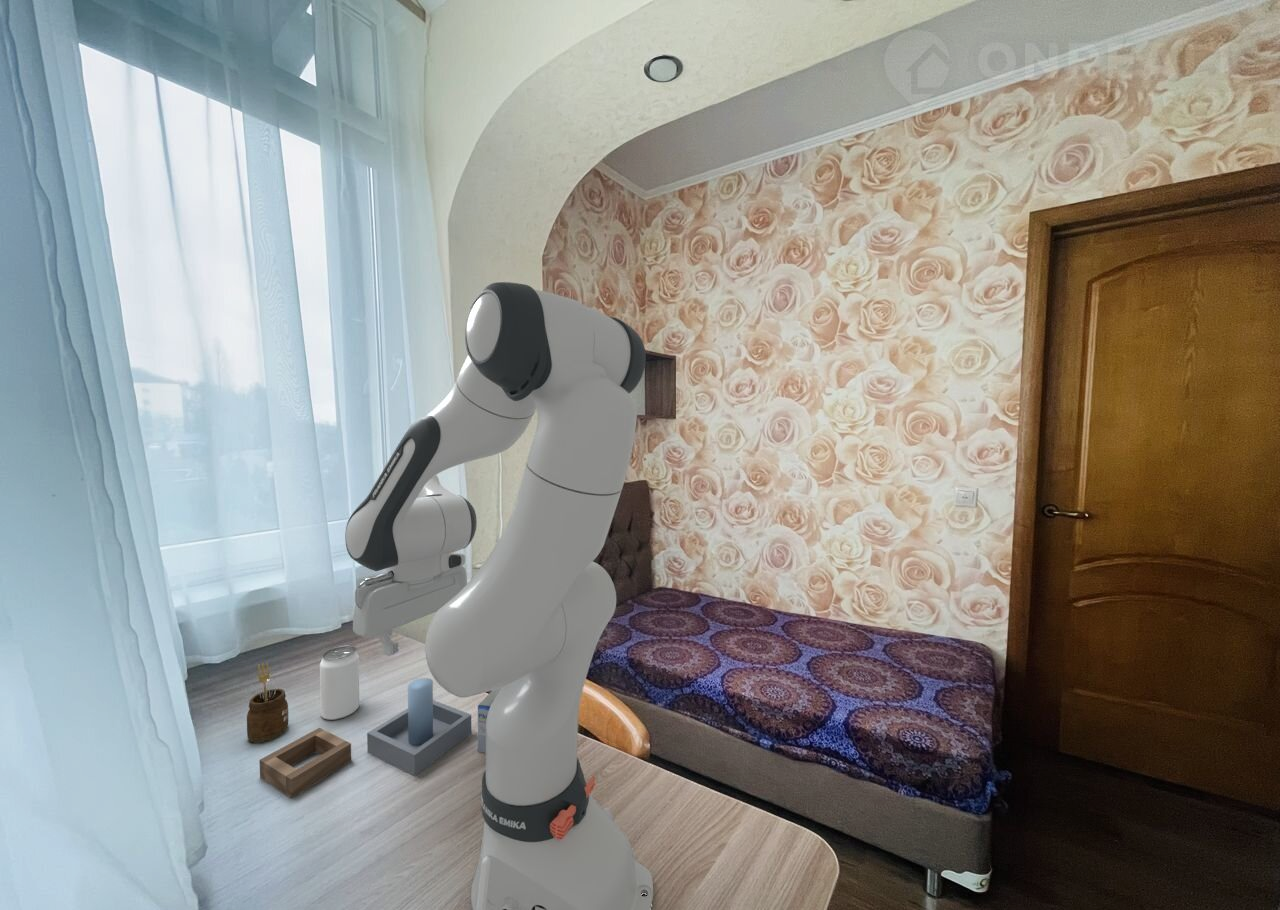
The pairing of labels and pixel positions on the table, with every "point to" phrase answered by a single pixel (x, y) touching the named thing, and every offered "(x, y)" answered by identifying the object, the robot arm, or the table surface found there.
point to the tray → (397, 751)
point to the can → (339, 682)
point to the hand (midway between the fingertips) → (416, 642)
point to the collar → (295, 781)
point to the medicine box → (484, 718)
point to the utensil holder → (267, 712)
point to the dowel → (420, 711)
